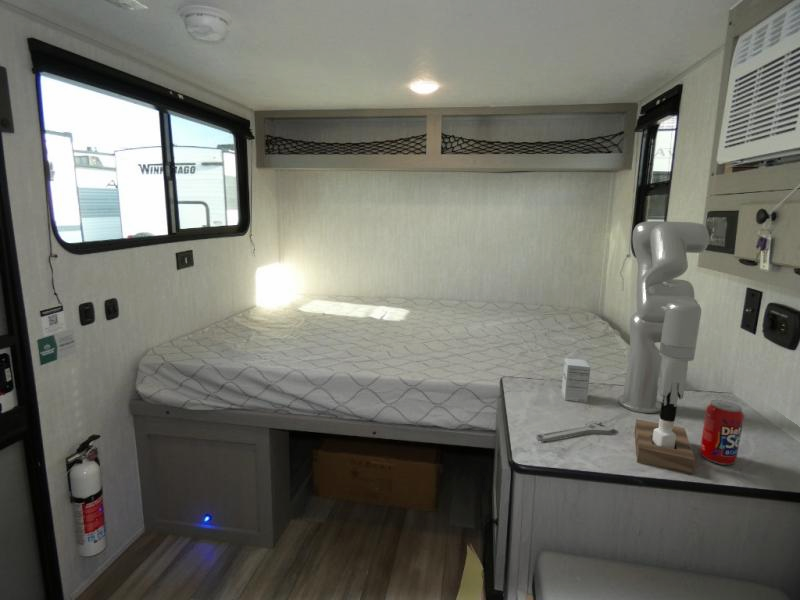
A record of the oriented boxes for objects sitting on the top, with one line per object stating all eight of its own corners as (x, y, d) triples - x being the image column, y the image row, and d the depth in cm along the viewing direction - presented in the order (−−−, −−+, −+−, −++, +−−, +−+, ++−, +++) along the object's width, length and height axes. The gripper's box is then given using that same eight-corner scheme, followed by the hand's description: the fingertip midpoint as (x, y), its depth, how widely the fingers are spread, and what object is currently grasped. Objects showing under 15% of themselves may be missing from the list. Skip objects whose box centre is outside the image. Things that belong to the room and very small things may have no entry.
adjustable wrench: (539, 444, 125) (540, 438, 125) (527, 433, 131) (527, 428, 131) (616, 434, 131) (617, 428, 131) (601, 424, 138) (602, 418, 137)
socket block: (634, 432, 132) (636, 419, 131) (682, 441, 127) (684, 428, 127) (637, 462, 116) (638, 447, 115) (692, 474, 111) (694, 459, 111)
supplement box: (560, 392, 160) (564, 357, 158) (583, 394, 159) (586, 359, 156) (563, 400, 153) (567, 364, 151) (587, 402, 152) (591, 366, 149)
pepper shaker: (649, 449, 121) (654, 416, 120) (664, 449, 122) (668, 416, 120) (659, 457, 118) (664, 423, 116) (674, 457, 118) (679, 423, 116)
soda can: (699, 448, 124) (708, 396, 121) (735, 457, 120) (744, 403, 117) (698, 460, 118) (707, 406, 115) (736, 470, 113) (746, 414, 110)
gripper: (657, 341, 122) (648, 405, 126) (662, 357, 109) (652, 428, 112) (690, 345, 119) (680, 410, 123) (699, 361, 106) (688, 435, 109)
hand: (667, 418), depth 117 cm, fingers closed
